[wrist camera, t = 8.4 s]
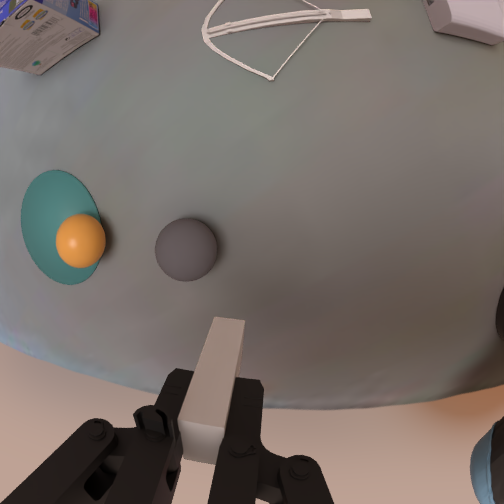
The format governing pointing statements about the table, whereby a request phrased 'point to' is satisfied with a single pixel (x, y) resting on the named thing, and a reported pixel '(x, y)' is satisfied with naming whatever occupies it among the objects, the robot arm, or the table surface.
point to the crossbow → (277, 20)
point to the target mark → (54, 222)
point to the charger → (468, 18)
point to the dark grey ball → (186, 249)
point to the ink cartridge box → (44, 31)
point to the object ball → (80, 240)
